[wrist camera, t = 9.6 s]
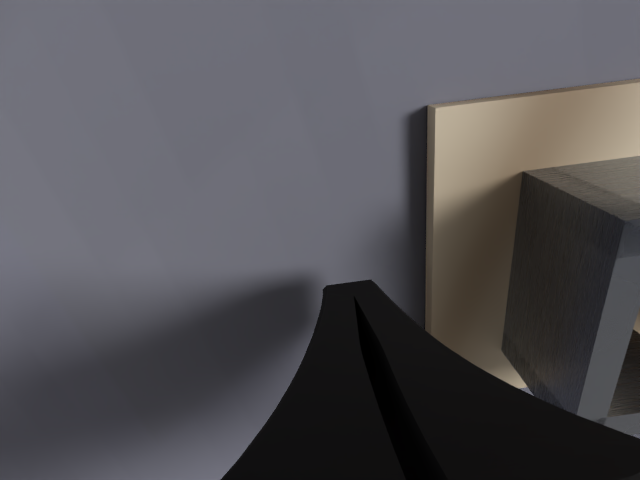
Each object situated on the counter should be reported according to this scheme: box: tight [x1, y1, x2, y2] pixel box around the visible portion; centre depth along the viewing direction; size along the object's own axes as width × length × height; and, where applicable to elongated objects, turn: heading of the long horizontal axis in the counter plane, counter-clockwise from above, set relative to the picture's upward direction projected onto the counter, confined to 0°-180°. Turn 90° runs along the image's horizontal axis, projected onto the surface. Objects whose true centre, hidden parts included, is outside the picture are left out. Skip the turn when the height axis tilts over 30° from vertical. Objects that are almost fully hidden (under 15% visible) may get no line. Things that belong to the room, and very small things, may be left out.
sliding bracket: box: [501, 156, 640, 435], centre depth 10 cm, size 4×6×4 cm, turn 6°
